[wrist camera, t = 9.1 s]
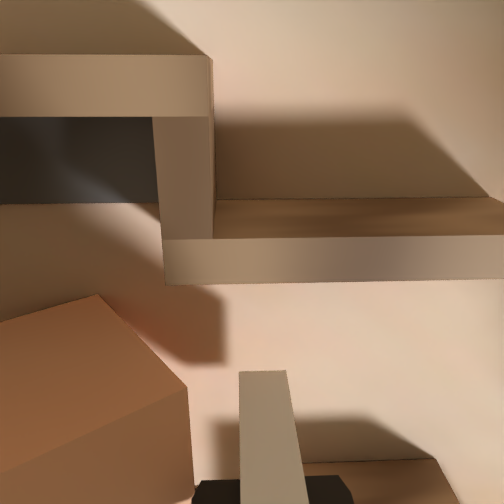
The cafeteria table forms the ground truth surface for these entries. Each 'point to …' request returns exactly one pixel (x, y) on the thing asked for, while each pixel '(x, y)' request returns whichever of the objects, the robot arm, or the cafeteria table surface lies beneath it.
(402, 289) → the cafeteria table surface
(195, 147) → the trap lane
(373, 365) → the cafeteria table surface
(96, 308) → the block
